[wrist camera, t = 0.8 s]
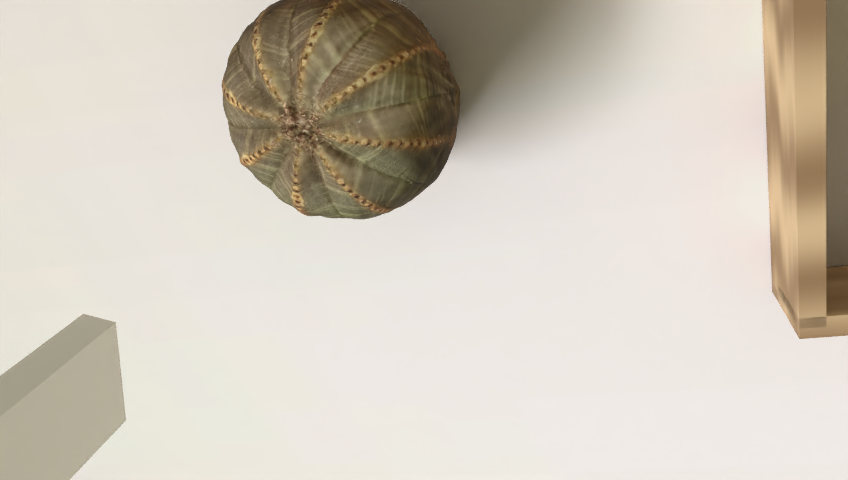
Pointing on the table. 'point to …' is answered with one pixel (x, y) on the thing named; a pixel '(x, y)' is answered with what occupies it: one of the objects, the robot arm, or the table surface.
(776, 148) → the corral
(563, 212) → the table surface
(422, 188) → the shell
